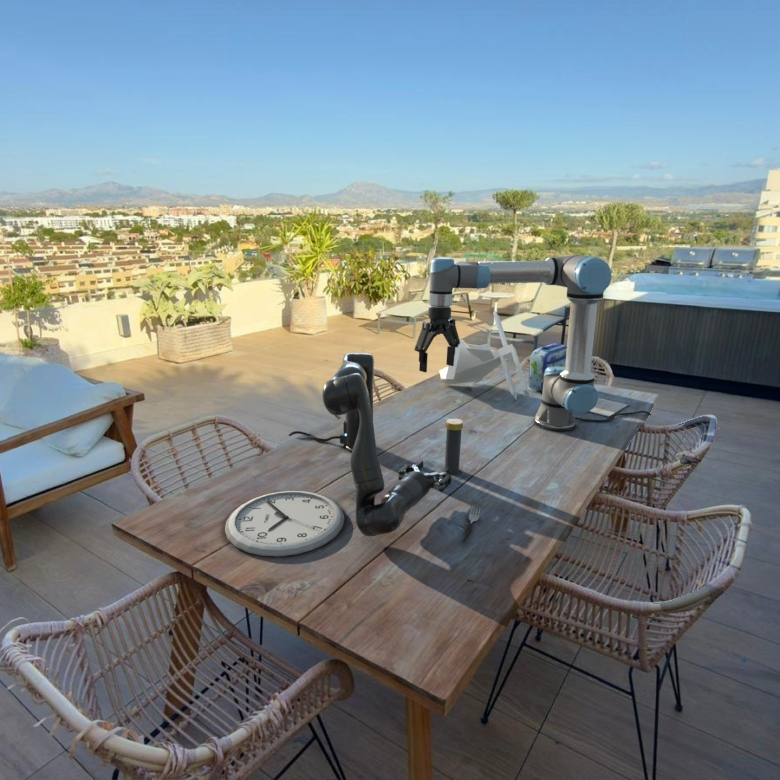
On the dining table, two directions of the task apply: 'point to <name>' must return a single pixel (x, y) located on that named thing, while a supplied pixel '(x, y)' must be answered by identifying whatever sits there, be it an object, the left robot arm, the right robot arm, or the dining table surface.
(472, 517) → the fork
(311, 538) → the wall clock
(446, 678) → the dining table surface
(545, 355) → the lunch box
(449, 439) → the dark grey cylinder
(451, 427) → the lid
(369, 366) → the left robot arm
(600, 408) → the invitation card
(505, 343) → the white plastic object
